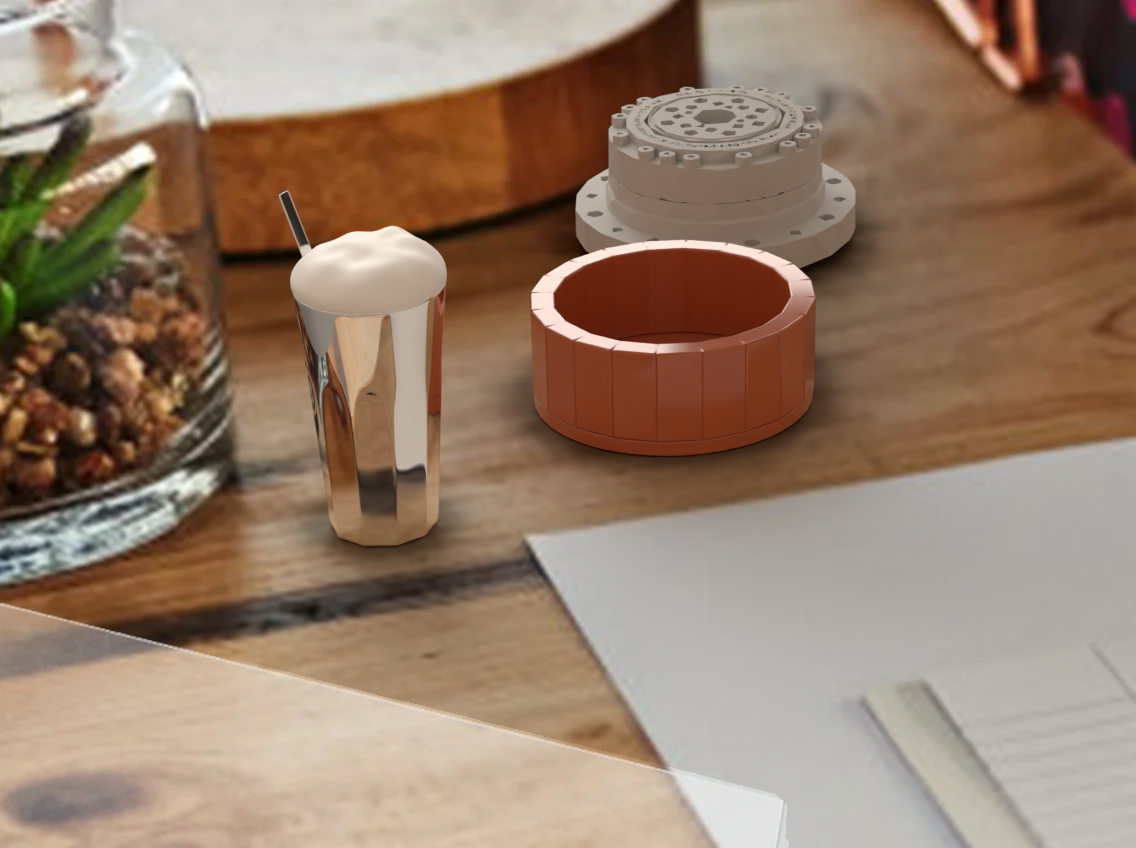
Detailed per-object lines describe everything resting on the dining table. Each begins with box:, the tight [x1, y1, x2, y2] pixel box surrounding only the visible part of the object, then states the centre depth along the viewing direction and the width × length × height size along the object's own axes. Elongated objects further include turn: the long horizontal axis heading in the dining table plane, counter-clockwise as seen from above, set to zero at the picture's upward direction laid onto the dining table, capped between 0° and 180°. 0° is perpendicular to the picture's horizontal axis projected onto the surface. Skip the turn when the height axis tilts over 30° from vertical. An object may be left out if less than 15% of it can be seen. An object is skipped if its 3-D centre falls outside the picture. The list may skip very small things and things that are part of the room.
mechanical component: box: [575, 84, 856, 269], centre depth 111 cm, size 10×4×10 cm
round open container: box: [529, 240, 817, 457], centre depth 101 cm, size 9×9×4 cm
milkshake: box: [278, 190, 448, 547], centre depth 93 cm, size 5×5×10 cm
